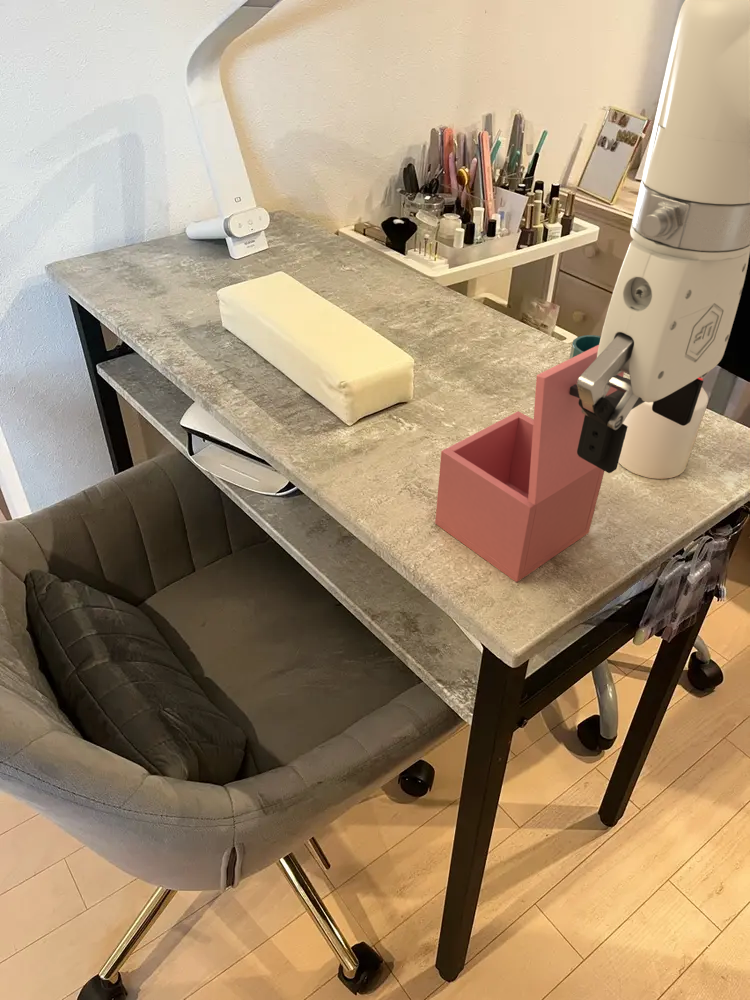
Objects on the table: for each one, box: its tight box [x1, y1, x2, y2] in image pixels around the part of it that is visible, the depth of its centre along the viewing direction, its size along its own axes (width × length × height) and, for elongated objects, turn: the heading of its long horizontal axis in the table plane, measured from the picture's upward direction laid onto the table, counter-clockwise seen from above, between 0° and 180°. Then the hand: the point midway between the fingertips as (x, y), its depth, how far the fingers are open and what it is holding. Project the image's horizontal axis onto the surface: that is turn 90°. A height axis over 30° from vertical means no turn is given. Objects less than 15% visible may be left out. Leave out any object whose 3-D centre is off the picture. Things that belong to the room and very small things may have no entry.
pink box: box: [434, 410, 605, 583], centre depth 72 cm, size 11×11×9 cm
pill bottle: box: [618, 378, 709, 480], centre depth 81 cm, size 8×8×11 cm
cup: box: [568, 334, 601, 360], centre depth 93 cm, size 5×5×6 cm
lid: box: [528, 345, 645, 505], centre depth 61 cm, size 12×11×6 cm
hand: (634, 439), depth 59 cm, fingers open, 9 cm apart
